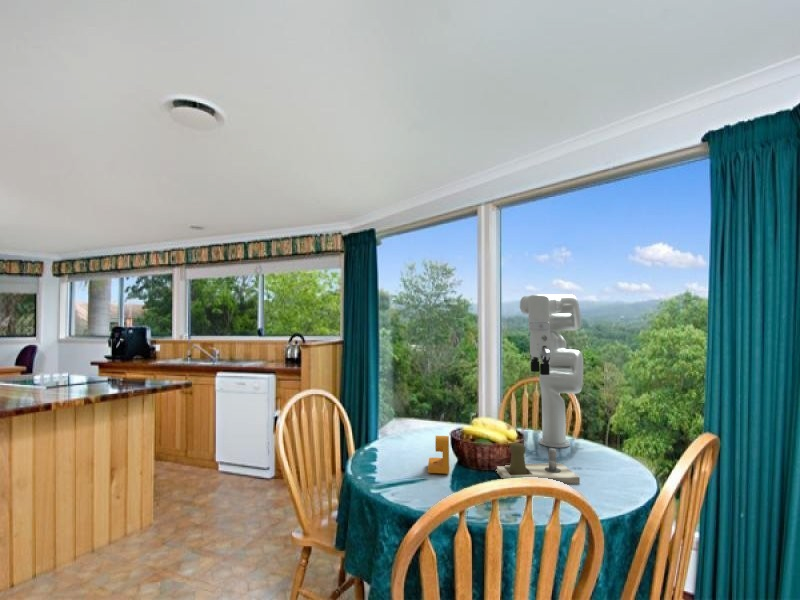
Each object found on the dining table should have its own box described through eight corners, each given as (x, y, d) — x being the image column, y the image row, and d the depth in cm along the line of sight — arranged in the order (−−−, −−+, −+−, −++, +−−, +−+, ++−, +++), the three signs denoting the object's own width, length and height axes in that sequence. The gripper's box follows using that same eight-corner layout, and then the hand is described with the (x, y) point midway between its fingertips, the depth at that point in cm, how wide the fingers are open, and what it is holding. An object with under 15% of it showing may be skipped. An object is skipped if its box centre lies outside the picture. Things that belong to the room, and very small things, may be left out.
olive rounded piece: (509, 478, 144) (509, 445, 144) (508, 472, 150) (507, 440, 150) (528, 479, 143) (527, 446, 143) (525, 473, 149) (525, 441, 149)
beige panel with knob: (495, 470, 152) (494, 444, 153) (561, 468, 153) (561, 443, 154) (506, 484, 138) (506, 456, 139) (579, 483, 139) (579, 455, 140)
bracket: (429, 464, 158) (429, 431, 159) (448, 465, 157) (448, 432, 158) (427, 475, 147) (427, 439, 148) (449, 476, 147) (448, 440, 147)
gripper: (558, 327, 153) (559, 376, 152) (540, 327, 170) (541, 370, 170) (537, 327, 153) (538, 376, 152) (521, 327, 170) (522, 370, 169)
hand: (539, 373), depth 161 cm, fingers open, 9 cm apart
